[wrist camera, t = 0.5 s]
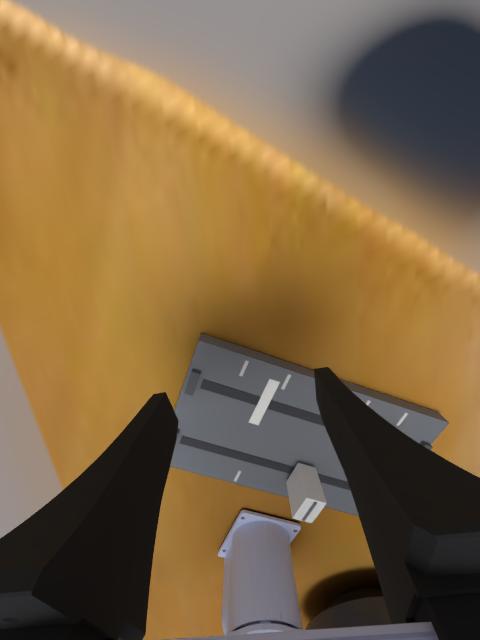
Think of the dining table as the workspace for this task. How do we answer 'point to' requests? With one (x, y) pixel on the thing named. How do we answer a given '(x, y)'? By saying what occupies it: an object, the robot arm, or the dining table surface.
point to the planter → (353, 610)
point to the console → (271, 422)
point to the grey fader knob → (305, 493)
